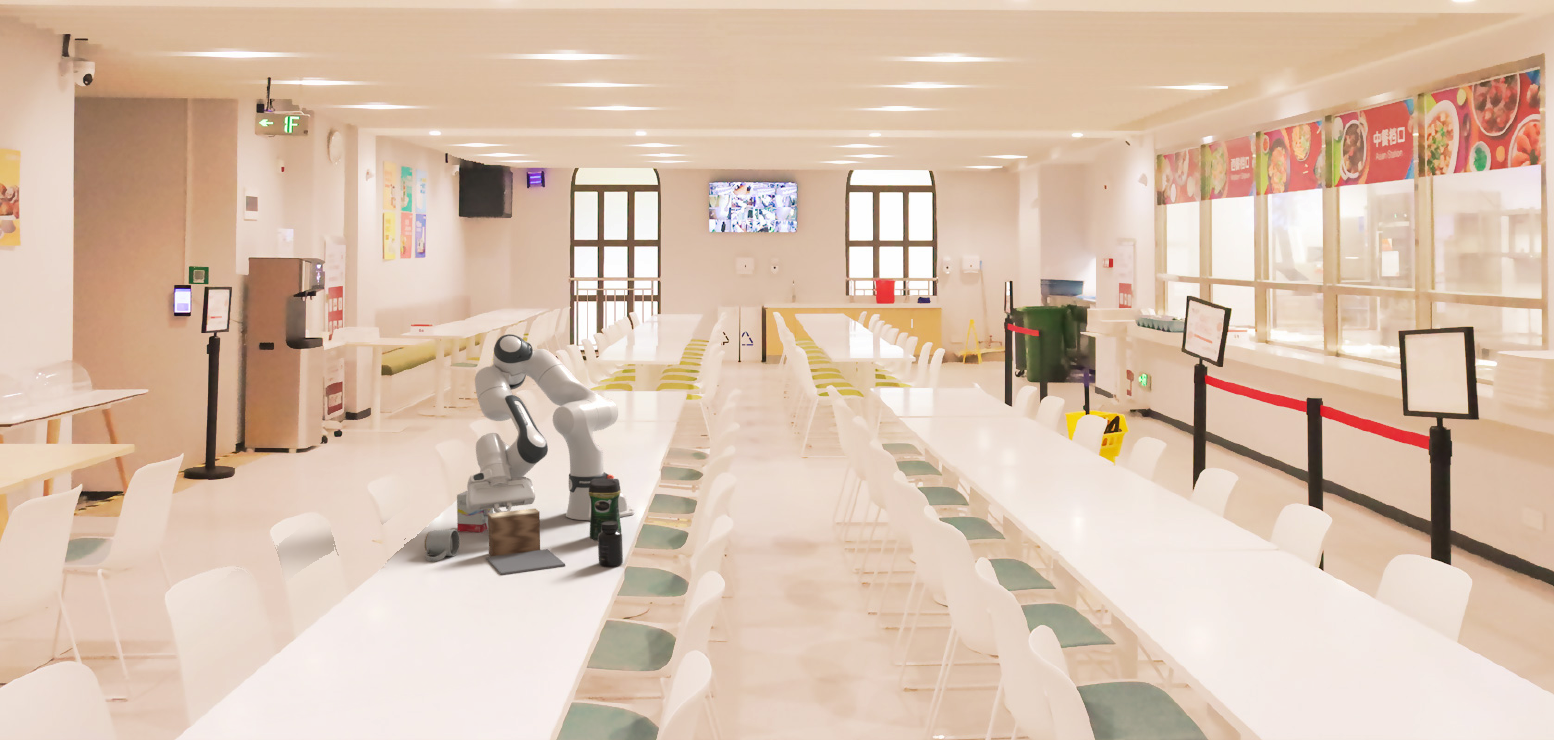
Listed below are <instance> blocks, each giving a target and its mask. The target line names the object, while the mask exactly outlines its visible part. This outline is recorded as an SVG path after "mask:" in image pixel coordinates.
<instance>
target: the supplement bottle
mask: <svg viewBox="0 0 1554 740" xmlns="http://www.w3.org/2000/svg"><path fill="white" fill-rule="evenodd" d="M618 529H619V527H618V522H616V521H606V522H602V523H601V530H602V532H600V533H599V535H598V540H597V549H598V551H597V553H598V555H597V556H598V564H599V566H600V567H604V568H605V567H606V568H616V567H618V566H621V565H622V564H623V562H624V557H623V555H624V553H623V549H624V547H623V534H622V531H621V532H620V531H618Z"/></svg>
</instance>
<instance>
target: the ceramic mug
mask: <svg viewBox="0 0 1554 740" xmlns="http://www.w3.org/2000/svg"><path fill="white" fill-rule="evenodd" d="M460 540H461V539H460V534H459V531H458V529H455V528H454V529H436V530H434V529H433V530H431V531H428V532H427V534H426V535H425V538H424V548H425V553H424V554H425V558H426V560H427V561H429V562H438V561H441V560H443V559H444V558H445V557H455V556H456V555H457V554H458V553H459V550H460V547H461V546H460V542H461V541H460ZM429 555H430V556H429Z"/></svg>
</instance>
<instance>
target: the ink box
mask: <svg viewBox="0 0 1554 740" xmlns="http://www.w3.org/2000/svg"><path fill="white" fill-rule="evenodd" d="M466 495H467V490H466V491H463V492H460V493H459V494H456V511H457V512H456V513H457V519H456V521H457V523H456V524H457V525H456V526H457V531H458V532H461V533H462V532H465V533H466V532H467V533H481V534H482V533H483V532H486V531H487V530H488V514H490V513H494V508H492V509H483V510H474V511H470V510H469V509H467V504H466Z"/></svg>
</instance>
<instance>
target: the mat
mask: <svg viewBox="0 0 1554 740" xmlns="http://www.w3.org/2000/svg"><path fill="white" fill-rule="evenodd" d="M486 561H487V562H488V563H489V564H491V566H492V567H493V568H494V569H495V570H496V571H497V572H498V574H500V575H501V576H504V575H512V574H520V573H526V572H533V571H539V570H545V569H546V570H547V569H554V568H555V569H556V568H561V567H562V568H563V567H566V563H565V562H563V561H562V560H561V559H560V558H559V557H558V556H556V554H554V553H553V552H552V551H551V550H550V549H549V548H545V549H540V550H536V551H528V552H521V553H513V554H505V555H498V556H491V555H489V556H486Z"/></svg>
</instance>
